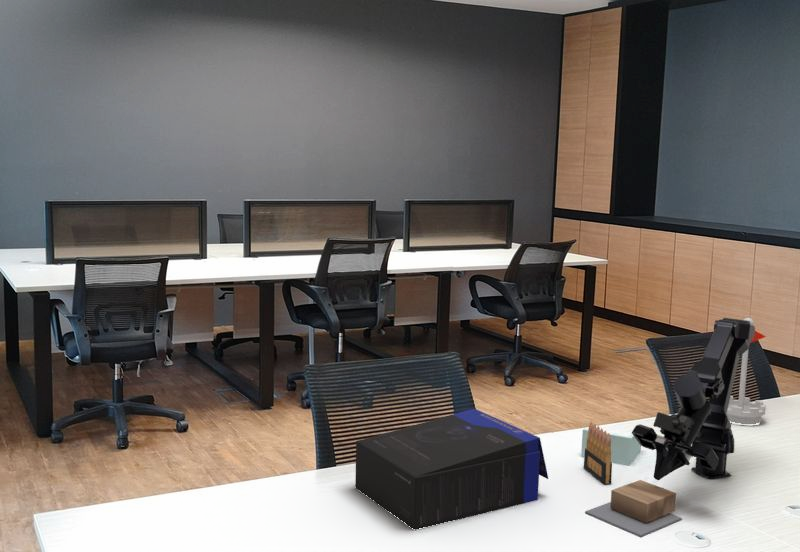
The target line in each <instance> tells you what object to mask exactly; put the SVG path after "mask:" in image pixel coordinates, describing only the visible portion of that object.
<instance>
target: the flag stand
mask: <svg viewBox="0 0 800 552" xmlns="http://www.w3.org/2000/svg"><path fill="white" fill-rule="evenodd" d="M743 320H747V321H750V323H751V325H752V326H754V321H753V319H752V318H750V317H746V318H744V319H743ZM766 337H767V336H766V335H764V334H762V333H760V332H759V331H756V330H755V335H754V338H753V340H751V342H750V344H752V343H754V342H756V341H759V340H762V339H764V338H766ZM749 350H750V349H748V350H747V351H745V352H744V353H743V354H742V355H741V368H740V378H739V379H740V380H739V390H738V391H739V392H738V399H734V396H733V395H731V396H730V401H729V405H728V409H727V415H728V418H729V421H731V422H735V423H741V424H756V423H759V422H760V423H761V419H762V417H763V416H764V415H766V409H767V407H766V404H764V402H763V401H761V400H759V399H757V400H756V399H755V401H754V402H752V401H751V397H747V396H746V385H747V384H746V383H747V372H748V360H749Z"/></svg>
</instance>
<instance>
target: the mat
mask: <svg viewBox="0 0 800 552" xmlns="http://www.w3.org/2000/svg"><path fill="white" fill-rule="evenodd" d="M610 506H611V501H609V502H606V503H604V504H601V505H599V506H596V507H593V508H590V509H587V510H585V512H584V513H585V514H586V515H588V516H591V517H593V518H595V519H598V520H600V521H603V522H604V523H607V524H610V525H611V526H614V527H616V528H618V529H621V530H623V531H625V532H628V533H631V535H635V536H637V537H640V538H642V537H644V536H646V535H649V534H652V533H654V532H657V531H659V530H661V529H663V528H666V527H668V526H671V525H673V524H675V523H677V522H680V521H682V520H683V517H680V516H678V515H676V514H672V513H669V514H667V515H664V516H662V517H659V518H657V519H655V520H652V521H650V522H647V523H645V522H642V521H640V520H637V519H635V518H633V517H630V516H628V515H625V514H623V513H620V512H618V511H616V510H614V509H611V508H610Z"/></svg>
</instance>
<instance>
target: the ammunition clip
mask: <svg viewBox="0 0 800 552" xmlns="http://www.w3.org/2000/svg"><path fill="white" fill-rule="evenodd" d="M587 429H588V436H587V445H586V448H585V456H584V457H583V470H585V471H586V472H587V473H588V474H590V475H591V476H592V477H593V478H595V479H596V480H597V481H598V482H599V483H601V485H603V486H605V485H612V473H613V463H611V437H610V434H609V433H610V432H607V431H606V430H604V429H603V428H600V426H599V425H596V423H593V421H592V420H591V421H590V422H589V425H588V428H587ZM603 432H604V433H603ZM607 433H608V435H607Z"/></svg>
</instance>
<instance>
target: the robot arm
mask: <svg viewBox="0 0 800 552" xmlns="http://www.w3.org/2000/svg"><path fill="white" fill-rule="evenodd" d="M755 331H756V327H755V325H753V326H752V325H751V323H750V321H747V320H744V319H738V318H732V317H723V318H722V319H718V320H717V319H716V320H714V325H713V332H712V334H711V337H710V340H709V341H708V344H707V346H706V348H705V351H704V353H703V355H702V357H701V359H700V360H698V361H697V362H695V363H693V364H692V365H691V367H690V369H688V370H687V371H686V373H685V374H682V375H681V376H679V377H677V378H676V379H675V380H674V381H673V384H672V385H673V386H672V387H673V390H674V393H675V396H676V398H677V401H678V405H680V408H679V410H678V412H677V413H672V414H670V415H669V414H666V413H662V412H660V411H658V412H657V413H656V416H655V420H654V422H653V425H652V426H653V427H655V428H659V429H660V430H659V432H660V433H661V435H660V434H657V433H656V431H655V429H654V428H653V427H649V426H647V425H643V424H636V426H634V428H633V429H632V431H631V433H632V434H633V435H634V437H635V438H636V440H637V441H638V442H639V444H640V445H641V447H643V448H645V449H649V450H651V451H656V453H655V455H656V457H655V458H656V459H655V465H654V471H653V479H654V480H656V481H660V480H662V479H663V478H665V477H666V476H668V475H670V474H671V473H673V472H675V470H678V469H679V468H682V467H684V466H690V464H691V463H690V460H691V459H692V458H695V466H694V467H691V471H693V472H695V473H696V474H699V475H700V476H703V477H705V478H707V479H709V480H711V479H712V480H713V479H719V478H725V477H730V476H731V473H730V472H728V471H726V470H727V469H726V468H727V459H728V458H727V456H728V455H729V454H734V453H735V436H734V433H733V431H732V424H731V423H730V421H729V418H728V415H727V409H728V405H729V401H730V396H732V391H733V387H734V382H735V379H736V374H737V370H738V365H739V361H740V357H742V354H743V353H744V352H745V351H747V350H748V349H749V348H750V344H751V343H750V342H751V340H753V338H754V335H755ZM749 350H750V349H749ZM749 350H748V351H749ZM662 435H663V436H662Z"/></svg>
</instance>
